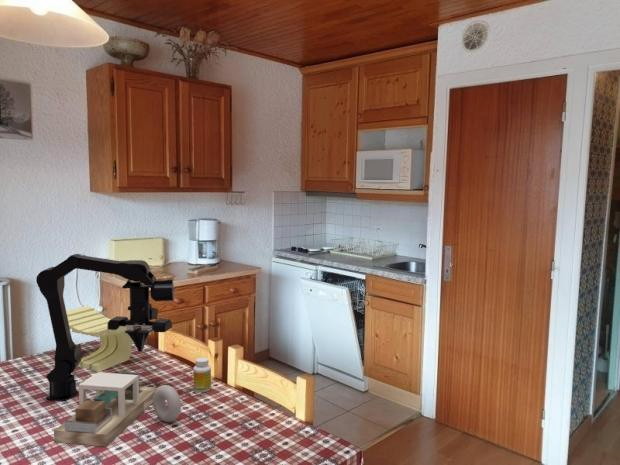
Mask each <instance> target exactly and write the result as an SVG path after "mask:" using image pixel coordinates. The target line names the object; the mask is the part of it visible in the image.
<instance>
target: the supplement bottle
mask: <svg viewBox="0 0 620 465" xmlns="http://www.w3.org/2000/svg"><path fill="white" fill-rule="evenodd" d="M209 363H210V362H209V358H208V357H198V358H196V359H195V366H193V391H195V392H197V393H206V392H209V391H210V390H211V389H212V368H211V367H212V366H210V364H209Z"/></svg>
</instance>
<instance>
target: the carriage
mask: <svg viewBox="0 0 620 465" xmlns="http://www.w3.org/2000/svg"><path fill="white" fill-rule="evenodd" d="M117 374H131V375H139V376H140V372H137V371H136V372H133V371H119V372H117ZM125 390H131V391H133V383H132V384H131V385H130V386H129V387H127V388H126V389H125ZM139 390H140V389H139ZM117 396H118V391H109V390H103V391H102V394H100V395H99V396H98V397H96V396H95V398H94V399H93V401H105V406H106V405H107V404H108V403H109V402H111V401H112V400H113V399H114V398H116V397H117ZM110 419H112V408H107V407H105V418H104V419H103V420H102V421H100V422H99V423H98V424H97V423H93V422H81V421H76V418H75V419H74V420H72V421H68V420H69V419H66V420H65V421H64V422H63V423H64V426H65V430H67V431H79V432H90V433H95V432H97V431H98V430H99V429H100V428H101V427H102V426H103V425H105V424H106V423H107V422H108V421H109V420H110Z"/></svg>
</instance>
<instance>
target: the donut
mask: <svg viewBox="0 0 620 465" xmlns="http://www.w3.org/2000/svg"><path fill="white" fill-rule="evenodd" d="M156 388H157V389H156V391H155V392H154V395H153V403H152V406H153V411H154V413H155V414H156V416H157V417H158V418H159V420H160V421H162V422H166V423H172V422H173V421H174V422H175V420H176V419H178V418H179V416H180V413H181V411H182V401H181V397H180V395H179V393H178V391H177V390H176V389H175V388H174V387H173V386H171V385H167V384H164V385H163V384H162V385H160V386H157V387H156ZM166 402H167V403H166Z"/></svg>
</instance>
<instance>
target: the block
mask: <svg viewBox="0 0 620 465" xmlns="http://www.w3.org/2000/svg"><path fill="white" fill-rule="evenodd" d="M74 411H75V414H76V421H81V422H93V423H97V424H98V423H99V422H100V421H102V420H103V419H104V418H105V401H94V400H91V399H90V400H89V399H86V401H85V402H84V403H82V404H81V405H80V406H79V405H78V406H77V407H75V410H74Z"/></svg>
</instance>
